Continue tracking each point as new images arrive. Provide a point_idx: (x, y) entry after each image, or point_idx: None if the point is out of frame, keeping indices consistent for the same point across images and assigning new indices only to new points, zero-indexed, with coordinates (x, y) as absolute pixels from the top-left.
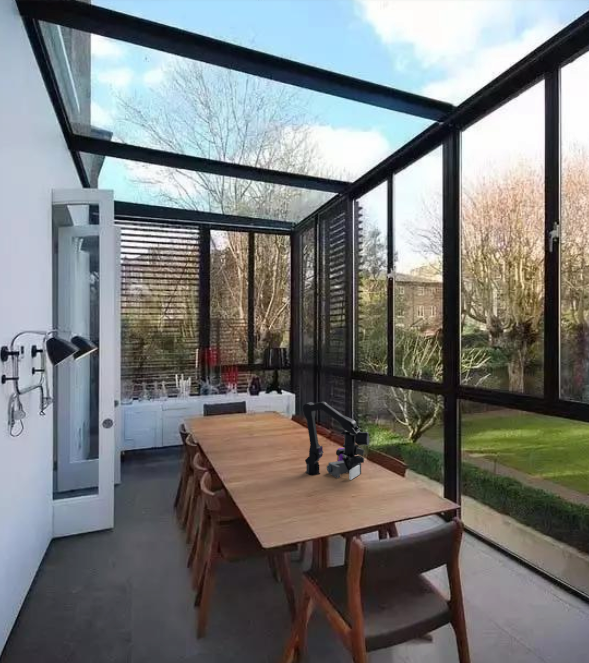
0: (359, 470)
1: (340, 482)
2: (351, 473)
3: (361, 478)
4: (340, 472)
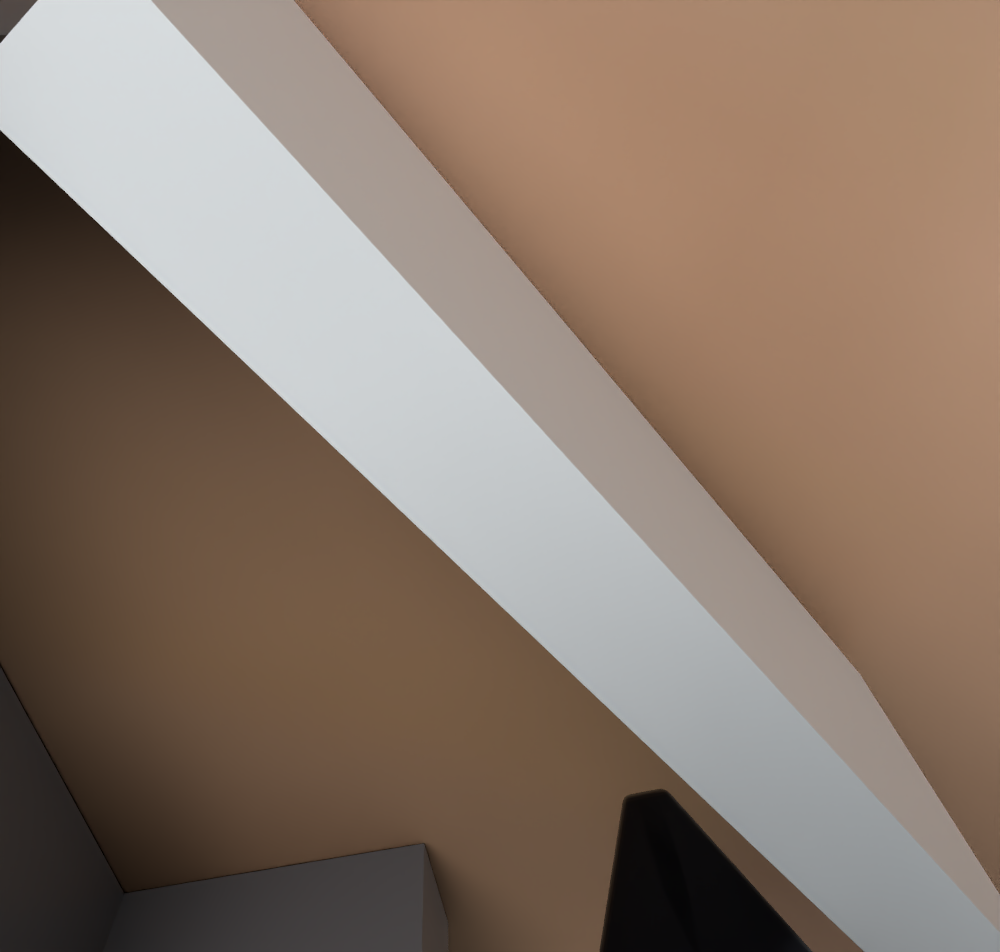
0: (271, 19)
1: (830, 936)
2: (951, 833)
3: (808, 157)
4: (13, 781)
